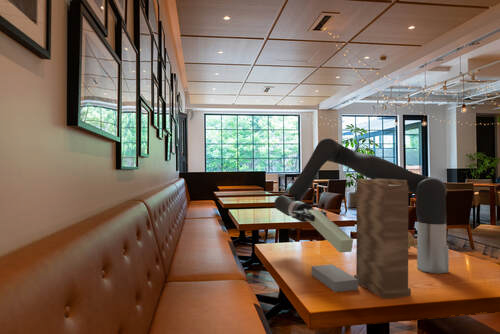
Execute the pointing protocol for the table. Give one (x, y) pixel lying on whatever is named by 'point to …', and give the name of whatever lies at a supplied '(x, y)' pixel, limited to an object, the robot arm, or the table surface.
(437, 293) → the table surface
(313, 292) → the table surface
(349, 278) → the base block
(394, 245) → the pedestal
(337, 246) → the pale green bar
